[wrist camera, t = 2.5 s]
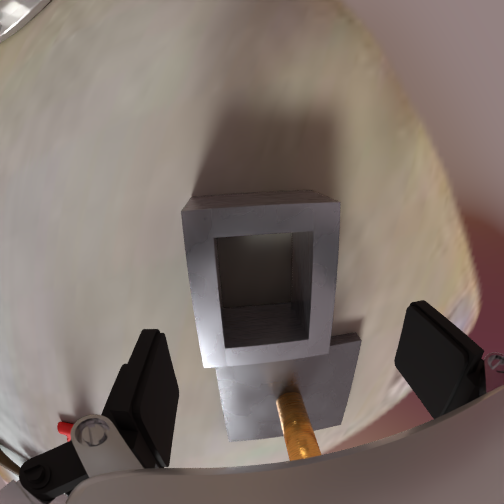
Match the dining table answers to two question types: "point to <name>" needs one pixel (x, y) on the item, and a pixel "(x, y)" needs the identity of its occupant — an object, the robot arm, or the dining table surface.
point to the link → (302, 285)
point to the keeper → (289, 396)
